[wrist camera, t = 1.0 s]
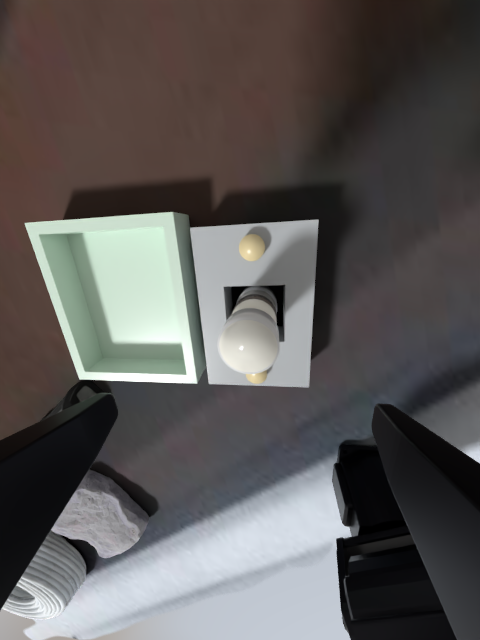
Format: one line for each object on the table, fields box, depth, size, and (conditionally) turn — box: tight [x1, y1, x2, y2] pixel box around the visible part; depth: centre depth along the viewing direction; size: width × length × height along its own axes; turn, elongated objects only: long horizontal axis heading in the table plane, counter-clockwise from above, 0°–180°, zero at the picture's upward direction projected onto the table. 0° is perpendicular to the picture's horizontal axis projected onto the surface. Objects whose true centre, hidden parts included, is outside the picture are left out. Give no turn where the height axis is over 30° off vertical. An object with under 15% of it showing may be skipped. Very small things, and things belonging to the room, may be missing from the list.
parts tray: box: [25, 212, 207, 383], centre depth 19 cm, size 11×13×3 cm
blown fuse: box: [217, 286, 280, 374], centre depth 16 cm, size 3×3×8 cm
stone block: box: [51, 470, 149, 558], centre depth 31 cm, size 12×5×10 cm
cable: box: [2, 530, 86, 620], centre depth 37 cm, size 18×18×6 cm
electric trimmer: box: [41, 380, 104, 421], centre depth 26 cm, size 4×16×3 cm, turn 131°
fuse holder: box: [190, 219, 319, 387], centre depth 18 cm, size 8×12×4 cm, turn 3°
